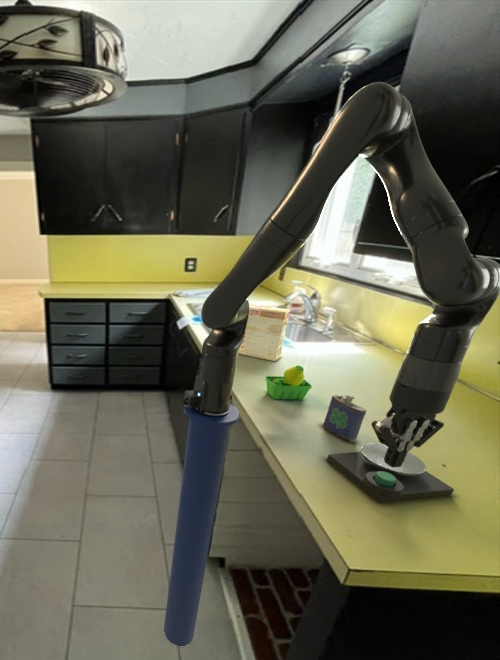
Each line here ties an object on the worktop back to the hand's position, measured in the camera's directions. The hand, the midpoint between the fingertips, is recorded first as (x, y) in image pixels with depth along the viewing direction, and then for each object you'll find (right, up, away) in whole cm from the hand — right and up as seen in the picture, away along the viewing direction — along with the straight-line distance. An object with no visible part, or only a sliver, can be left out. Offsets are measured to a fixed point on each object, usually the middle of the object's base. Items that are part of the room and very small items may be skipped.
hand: (391, 464), depth 69 cm
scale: (+5, -4, +8) cm, 10 cm away
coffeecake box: (+10, +27, +80) cm, 85 cm away
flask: (+5, +2, +23) cm, 24 cm away
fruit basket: (+2, +11, +43) cm, 45 cm away
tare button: (0, -4, +2) cm, 4 cm away
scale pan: (+6, -1, +8) cm, 10 cm away
